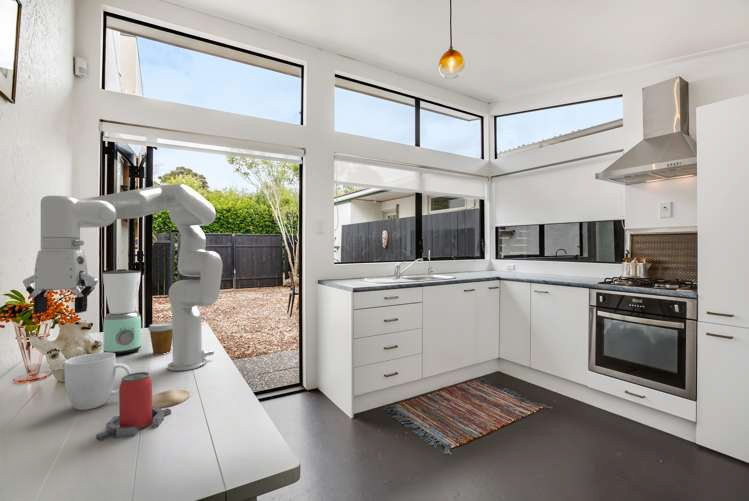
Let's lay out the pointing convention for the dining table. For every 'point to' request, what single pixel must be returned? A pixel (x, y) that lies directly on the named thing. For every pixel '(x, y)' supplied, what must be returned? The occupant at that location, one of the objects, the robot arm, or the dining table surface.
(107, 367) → the mug
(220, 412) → the dining table surface
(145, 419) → the beer can
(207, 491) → the dining table surface
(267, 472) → the dining table surface
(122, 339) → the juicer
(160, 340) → the disposable coffee cup
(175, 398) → the disc
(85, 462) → the dining table surface
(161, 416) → the collar
